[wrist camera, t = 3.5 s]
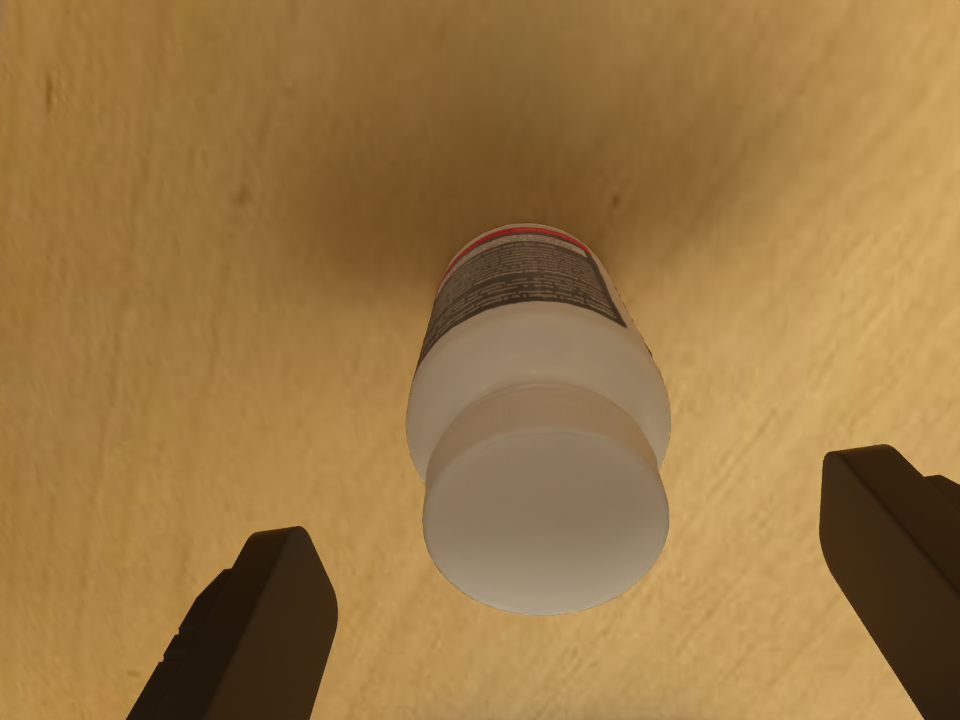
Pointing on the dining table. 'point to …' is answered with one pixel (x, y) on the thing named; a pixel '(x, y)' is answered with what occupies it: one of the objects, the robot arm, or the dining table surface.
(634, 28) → the dining table surface
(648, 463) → the pill bottle
